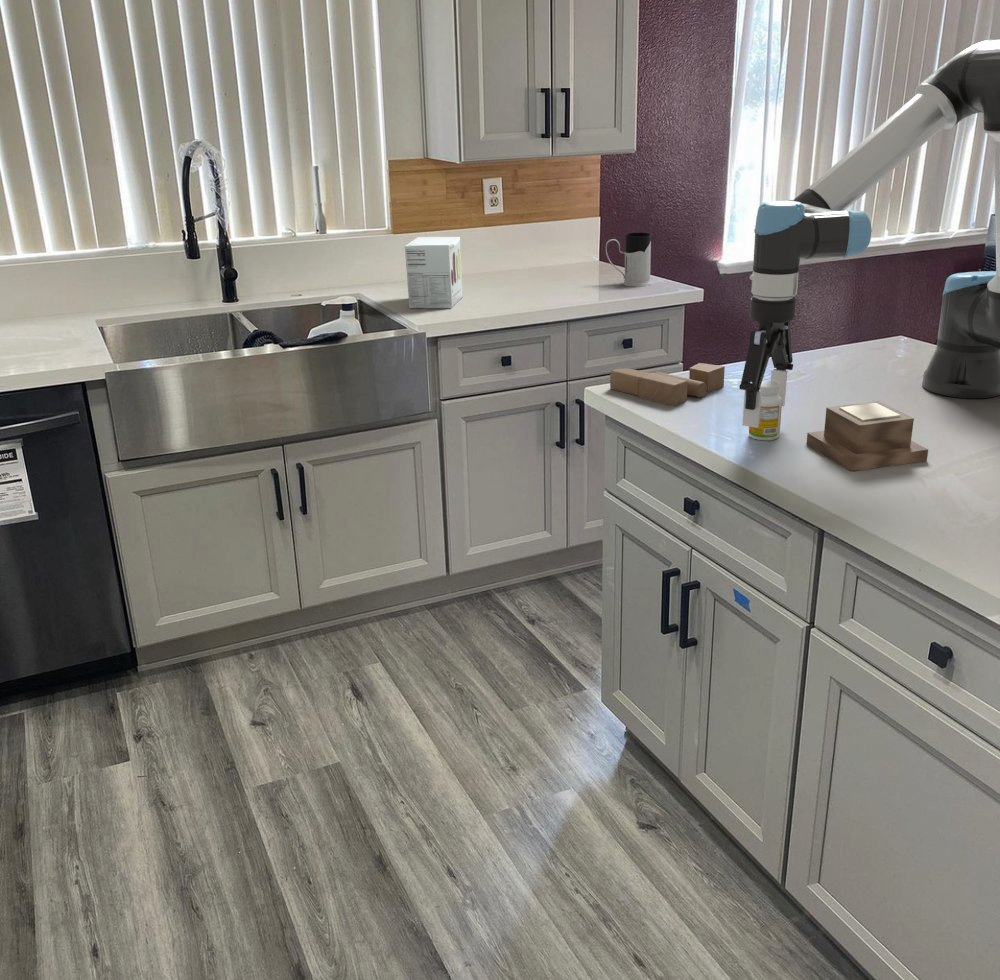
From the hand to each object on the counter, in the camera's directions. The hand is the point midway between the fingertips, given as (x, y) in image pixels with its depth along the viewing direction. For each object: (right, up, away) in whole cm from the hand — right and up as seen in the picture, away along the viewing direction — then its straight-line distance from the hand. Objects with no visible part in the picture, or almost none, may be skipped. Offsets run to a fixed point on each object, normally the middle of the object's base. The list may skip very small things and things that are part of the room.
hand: (764, 415), depth 177 cm
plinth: (+15, -7, -8) cm, 18 cm away
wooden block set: (-12, +7, +30) cm, 33 cm away
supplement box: (-66, +42, +118) cm, 141 cm away
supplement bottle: (0, -4, +2) cm, 4 cm away
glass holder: (-7, +51, +132) cm, 142 cm away
